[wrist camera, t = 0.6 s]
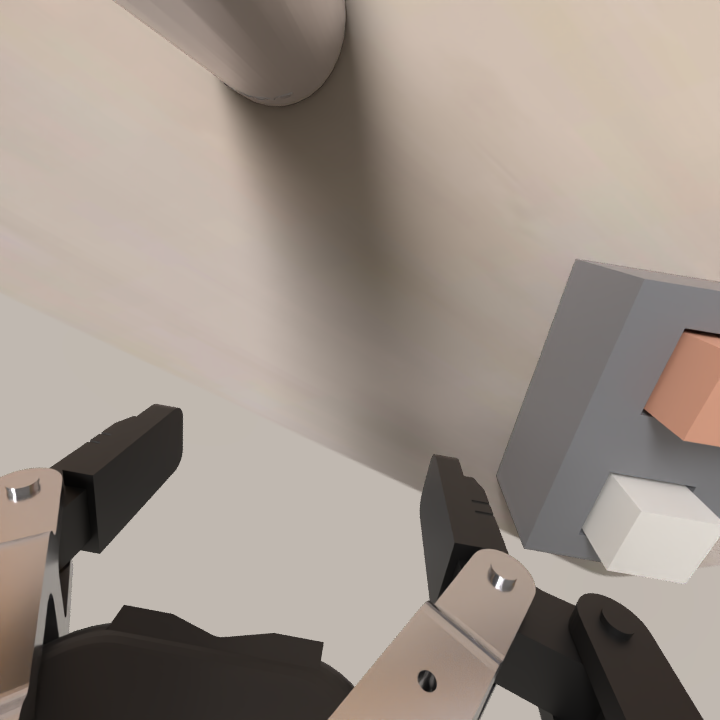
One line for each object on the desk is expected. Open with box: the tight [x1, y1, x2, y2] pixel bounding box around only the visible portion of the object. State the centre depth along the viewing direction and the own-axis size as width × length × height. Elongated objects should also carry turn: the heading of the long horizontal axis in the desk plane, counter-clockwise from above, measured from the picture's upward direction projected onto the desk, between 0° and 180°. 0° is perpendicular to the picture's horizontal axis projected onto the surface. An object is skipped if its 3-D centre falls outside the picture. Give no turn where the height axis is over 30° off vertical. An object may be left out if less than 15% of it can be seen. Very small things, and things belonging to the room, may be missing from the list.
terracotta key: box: [644, 328, 720, 447], centre depth 21 cm, size 5×5×6 cm
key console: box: [496, 259, 720, 562], centre depth 27 cm, size 20×12×8 cm, turn 171°
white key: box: [582, 472, 720, 584], centre depth 25 cm, size 5×5×6 cm
